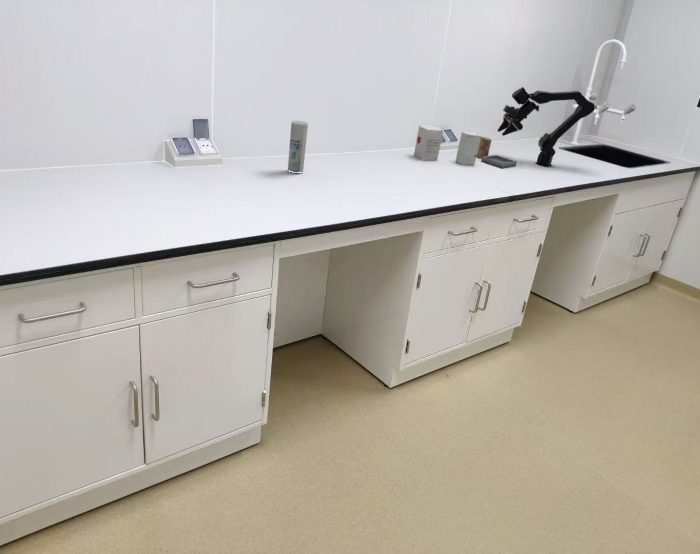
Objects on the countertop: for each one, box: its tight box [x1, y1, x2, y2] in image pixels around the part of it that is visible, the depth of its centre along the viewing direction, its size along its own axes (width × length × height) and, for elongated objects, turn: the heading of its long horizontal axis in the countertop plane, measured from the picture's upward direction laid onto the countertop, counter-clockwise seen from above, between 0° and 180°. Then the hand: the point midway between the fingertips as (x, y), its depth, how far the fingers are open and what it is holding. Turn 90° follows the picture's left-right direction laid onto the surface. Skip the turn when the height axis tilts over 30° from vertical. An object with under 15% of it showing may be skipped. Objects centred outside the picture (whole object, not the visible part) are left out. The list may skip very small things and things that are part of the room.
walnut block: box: [476, 136, 492, 159], centre depth 303 cm, size 5×5×10 cm
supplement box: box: [413, 124, 444, 161], centre depth 285 cm, size 9×9×15 cm
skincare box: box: [455, 131, 482, 166], centre depth 285 cm, size 8×6×15 cm
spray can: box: [287, 120, 309, 173], centre depth 232 cm, size 6×6×20 cm
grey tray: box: [480, 154, 517, 169], centre depth 296 cm, size 13×13×2 cm
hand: (500, 133), depth 301 cm, fingers open, 9 cm apart
